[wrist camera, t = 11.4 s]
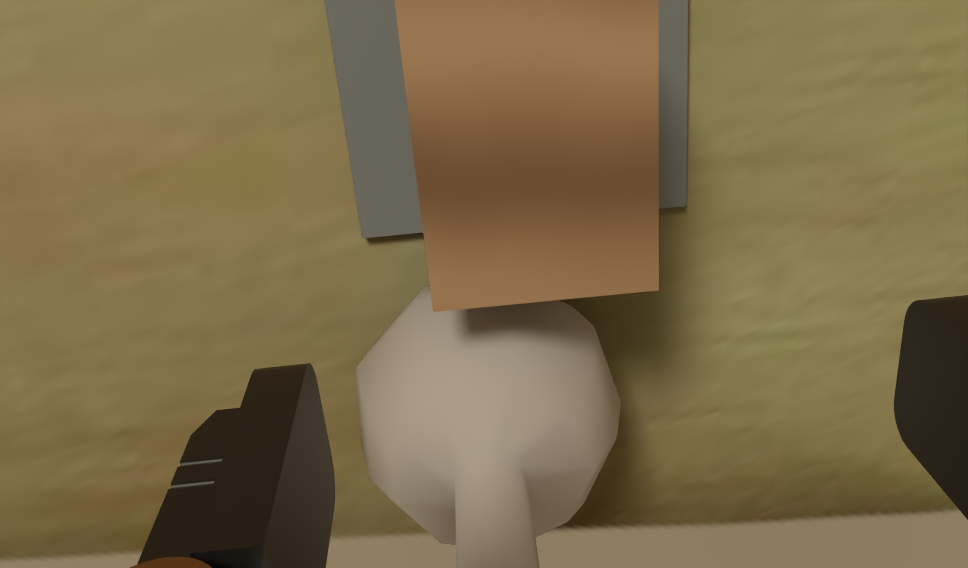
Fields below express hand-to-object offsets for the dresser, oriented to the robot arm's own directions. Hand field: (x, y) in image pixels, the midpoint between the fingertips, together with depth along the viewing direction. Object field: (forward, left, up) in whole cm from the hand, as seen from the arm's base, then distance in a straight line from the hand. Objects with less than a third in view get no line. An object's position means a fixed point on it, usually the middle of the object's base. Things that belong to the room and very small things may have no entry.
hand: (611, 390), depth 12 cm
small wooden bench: (0, 0, -18) cm, 18 cm away
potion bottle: (-2, -10, -18) cm, 21 cm away
